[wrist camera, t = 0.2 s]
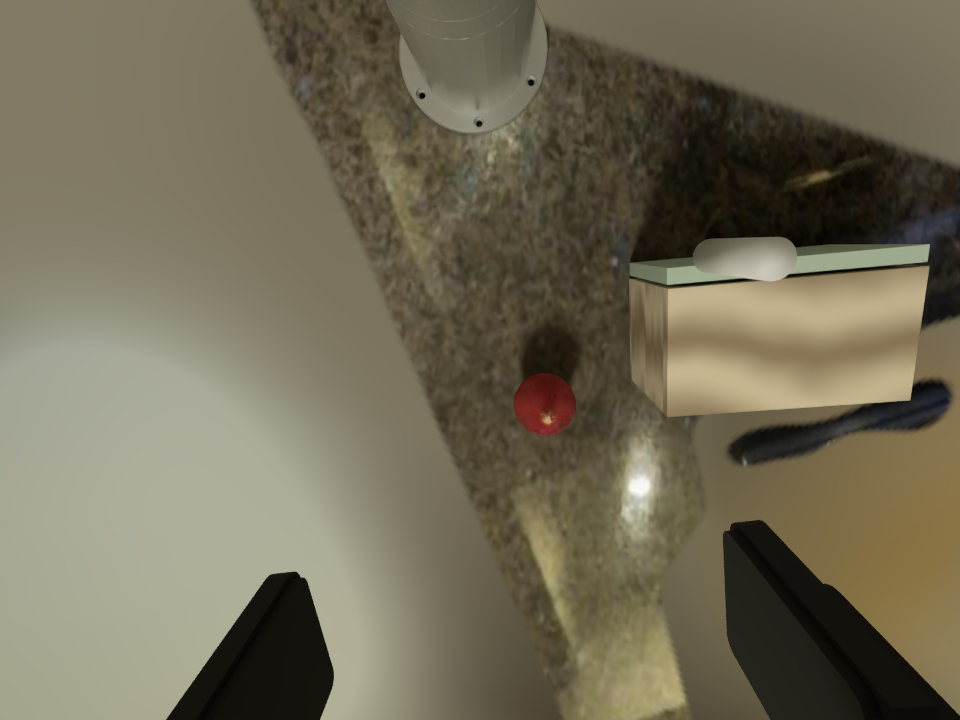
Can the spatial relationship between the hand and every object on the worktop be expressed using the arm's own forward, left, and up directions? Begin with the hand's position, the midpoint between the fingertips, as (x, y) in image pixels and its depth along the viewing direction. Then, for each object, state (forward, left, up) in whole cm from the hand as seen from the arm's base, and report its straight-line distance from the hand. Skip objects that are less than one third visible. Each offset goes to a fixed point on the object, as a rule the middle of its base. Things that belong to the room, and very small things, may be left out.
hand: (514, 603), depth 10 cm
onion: (+7, +3, -36) cm, 37 cm away
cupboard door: (-5, +21, -36) cm, 42 cm away
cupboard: (+2, +21, -36) cm, 42 cm away
